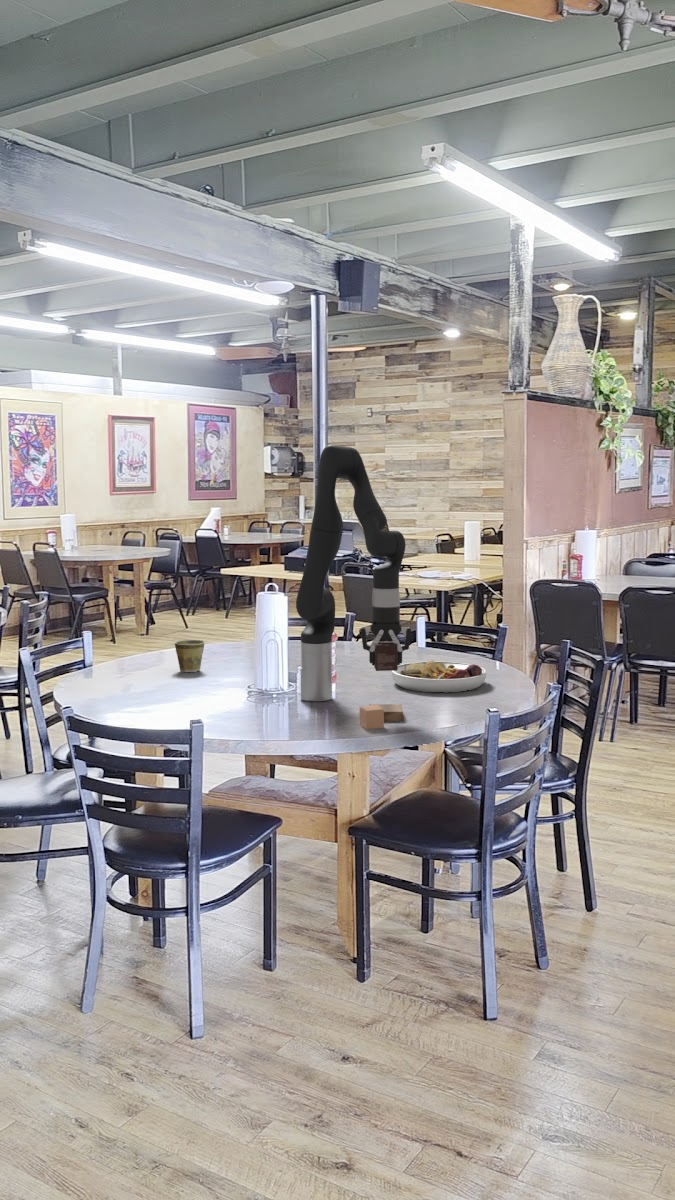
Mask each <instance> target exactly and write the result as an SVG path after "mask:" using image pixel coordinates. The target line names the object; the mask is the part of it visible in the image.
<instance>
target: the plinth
mask: <svg viewBox="0 0 675 1200" xmlns="http://www.w3.org/2000/svg"><path fill="white" fill-rule="evenodd" d="M374 705H378V706H379V707H381V708H383V709H384V722H404V711H403V706H402V704H400V703H395V704H393V703H391V704H390V703H389V704H385V703H384V704H383V703H382V704H381V703H373V704H372V703H369V704H368V706H374Z"/></svg>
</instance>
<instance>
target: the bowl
mask: <svg viewBox="0 0 675 1200" xmlns="http://www.w3.org/2000/svg"><path fill="white" fill-rule="evenodd" d="M391 677H392V680H393V682H394V683H395V684H396V685H397V686H399V687H401V688H403V689H406V690H410V691H414V690H415V691H414V692H420V691H422V692H421V693H431V692H453V693H462V692H461V691H463V692H467V690H469V691H472V690H475V689H477V688H479V687H481V686H482V685H483V683H484V682H485V681H486V678H487V670H486V668H483V667H481V666H479V665H477V664H470V663H463V662H455V661H435V660H427V661H417V662H408V663H407V662H406V663H400V665H398V670H397V671H391Z"/></svg>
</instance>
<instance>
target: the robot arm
mask: <svg viewBox="0 0 675 1200" xmlns="http://www.w3.org/2000/svg"><path fill="white" fill-rule="evenodd" d="M317 473H318V474H317V486H316V487H317V488H316V495H315V496H316V497H315V504H314V511H313V516H312V521H311V525H310V531H309V539H308V547H307V551H306V557H305V563H304V568H303V573H302V577H301V581H300V585H299V588H298V592H297V595H296V599H295V600H296V601H295V606H296V607H295V608H296V612H297V614H298V615H299V617H300V618H301V619H302V620H305V621H306V625H305V627H304V629H303V630H302V631H301V633H300V701H307V702H326V701H330V700H332V699H333V658H332V657H333V635H334V632H335V624H336V599H335V597H334V594H333V592H332V591H331V590H330V589H329V588H327V587H325V584H326V578H327V576H328V572H329V570H330V568H331V566H332V564H333V562H334V561H335V558H336V556H337V554H338V553H339V550H340V547H341V542H342V537H343V531H344V522H343V518H342V514H341V511H340V508H339V507H338V504H337V503H338V502H337V500H336V499H337V498H336V484H337V480H338V479H341V480H342V479H343V480H348V482H349V483H350V485H352V488H353V489H354V496H353V503H352V505H353V506H352V507H353V511H354V514H355V516H356V517H357V519H358V522H359V523H360V525H361V528H362V531H363V535H364V540H365V547H366V550H367V552H368V553H369V554H370V555H371V556H372V557H375V558H385V561H384V563H382V564H381V565H378V566H376V567H374V569H373V572H372V582H373V583H372V595H371V625H370V626H366V627H365V626H362V627H361V628H360V634H361V644H362V649H363V650H365V651H368V653H369V657H368V658H369V659H368V661H369V663H370V664H371V666H374V665H375V651H374V649H375V644H378V642H379V641H380V642H384V641H388V642H392V641H393V642H394V644H397V645H398V653H397V655H398V656H397V658H398V665H401V664H403V652H404V651H406V650H410V641H411V634H412V628H411V627H409V626H407V627H405V626H402V625H401V622H400V621H401V614H400V613H401V610H400V609H401V597H400V596H401V595H400V571H401V566H402V562H403V560H404V556H405V553H406V552H405V551H406V539H405V537H404V535H403V534H402V532H400V531H398V530H384V529H385V528H386V526H387V524H388V520H387V519H388V518H387V517H386V515H385V513H384V511H383V508H382V507H381V505H380V504H379V502H378V500H377V498H376V495H375V493H374V491H373V489H372V485H371V482H370V479H369V476H368V473H367V470H366V467H365V465H364V461H363V458H362V456H361V454H360V452H359V451H358V450H357V449H356V448H353V447H351V446H343V445H335V444H334V445H333V444H329V445H326V446H325V447H324V448H323V450H322V451H321V455H320V457H319V463H318V471H317ZM382 530H383V531H382ZM369 632H371V634H373V636H374V638H373V640H372V642H371V644H370V645H369V644H368V641H367V636H368V635H369V634H370V633H369ZM401 632H402V634H403V635H404V636H405V637H404V644H403V645H402V644H401V643H400V641H399V638H398V635H400V633H401Z"/></svg>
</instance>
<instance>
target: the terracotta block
mask: <svg viewBox="0 0 675 1200" xmlns="http://www.w3.org/2000/svg"><path fill="white" fill-rule="evenodd" d="M359 725H360V726H361V727H362V728H363V729H365V730H368V729H370V730H371V729H384V728H385V721H384V709H383V708H381V707H379V706H378V705H374V706H369V705H366V706H365V705H362V706H359Z"/></svg>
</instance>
